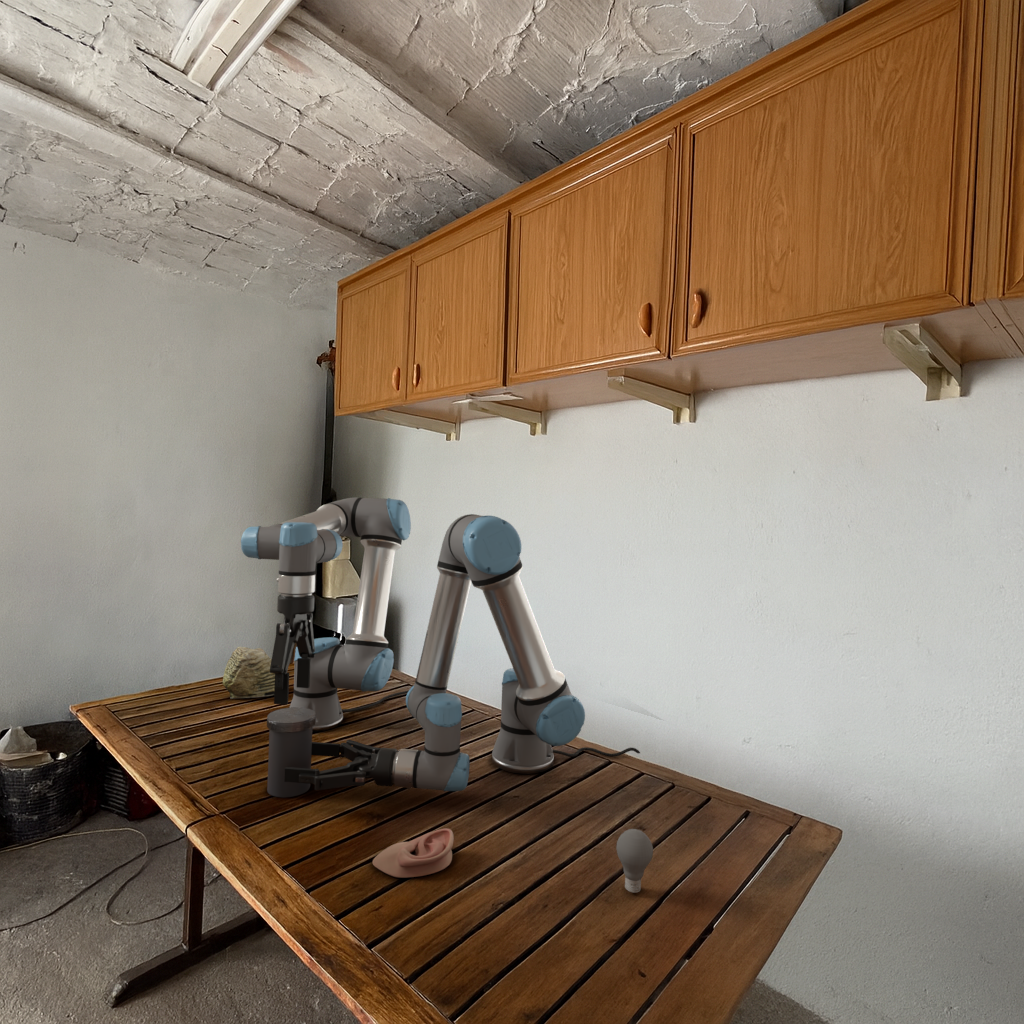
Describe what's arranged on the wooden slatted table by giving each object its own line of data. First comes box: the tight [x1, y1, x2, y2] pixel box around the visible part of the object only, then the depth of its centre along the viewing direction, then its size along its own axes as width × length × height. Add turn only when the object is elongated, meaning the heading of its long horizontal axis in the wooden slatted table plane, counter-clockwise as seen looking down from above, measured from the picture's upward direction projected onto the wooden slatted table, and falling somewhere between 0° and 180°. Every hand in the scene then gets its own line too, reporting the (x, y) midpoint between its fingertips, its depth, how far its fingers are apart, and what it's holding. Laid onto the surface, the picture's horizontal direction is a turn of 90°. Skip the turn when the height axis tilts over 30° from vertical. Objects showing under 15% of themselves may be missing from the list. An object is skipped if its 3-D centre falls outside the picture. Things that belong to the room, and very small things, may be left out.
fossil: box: [222, 646, 275, 699], centre depth 198 cm, size 9×18×15 cm, turn 132°
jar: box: [266, 727, 313, 798], centre depth 137 cm, size 9×9×16 cm
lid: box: [266, 707, 316, 733], centre depth 137 cm, size 10×10×2 cm
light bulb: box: [615, 828, 654, 894], centre depth 106 cm, size 6×6×10 cm
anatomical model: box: [372, 828, 455, 879], centre depth 112 cm, size 13×4×12 cm
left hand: (292, 695), depth 137 cm, fingers open, 11 cm apart
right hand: (298, 760), depth 136 cm, fingers open, 13 cm apart
